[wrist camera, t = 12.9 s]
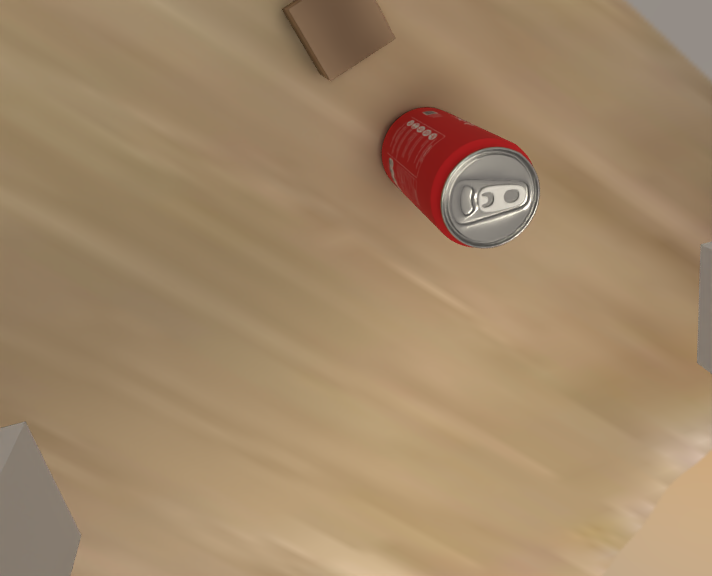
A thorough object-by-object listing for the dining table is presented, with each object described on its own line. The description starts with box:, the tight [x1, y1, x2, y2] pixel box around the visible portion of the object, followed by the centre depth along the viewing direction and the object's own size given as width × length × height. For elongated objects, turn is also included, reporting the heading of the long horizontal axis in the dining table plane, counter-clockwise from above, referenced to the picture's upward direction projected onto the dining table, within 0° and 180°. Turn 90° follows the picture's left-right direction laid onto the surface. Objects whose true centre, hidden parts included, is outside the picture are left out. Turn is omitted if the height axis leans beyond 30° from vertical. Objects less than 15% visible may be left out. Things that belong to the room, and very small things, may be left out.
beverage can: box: [382, 107, 540, 248], centre depth 35 cm, size 5×5×12 cm
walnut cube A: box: [282, 0, 396, 81], centre depth 35 cm, size 4×4×4 cm
